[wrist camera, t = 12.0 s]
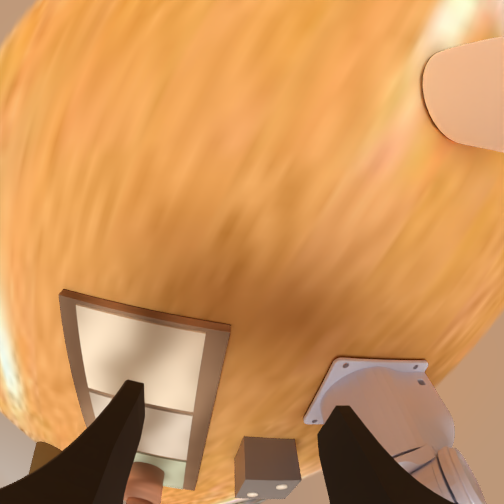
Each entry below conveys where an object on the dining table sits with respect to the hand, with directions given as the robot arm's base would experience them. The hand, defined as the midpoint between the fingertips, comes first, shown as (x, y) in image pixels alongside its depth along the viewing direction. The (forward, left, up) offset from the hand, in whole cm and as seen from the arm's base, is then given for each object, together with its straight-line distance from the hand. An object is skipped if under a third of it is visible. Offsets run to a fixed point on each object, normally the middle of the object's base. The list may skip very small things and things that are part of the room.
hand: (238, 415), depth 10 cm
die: (-6, +18, -10) cm, 21 cm away
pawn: (+6, +25, -8) cm, 27 cm away
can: (-11, -16, -10) cm, 22 cm away
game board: (+6, +16, -9) cm, 20 cm away
